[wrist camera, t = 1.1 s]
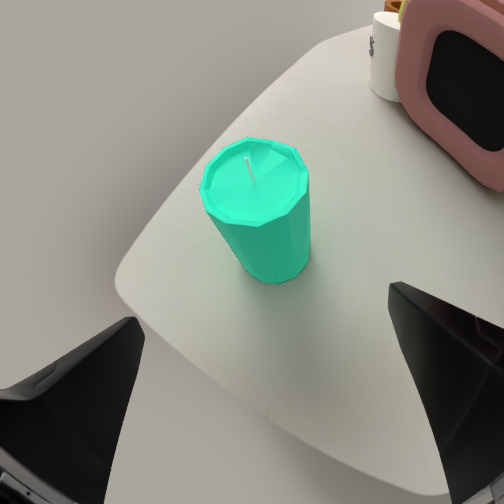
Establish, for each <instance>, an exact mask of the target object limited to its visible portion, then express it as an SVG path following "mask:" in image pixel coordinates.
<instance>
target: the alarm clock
mask: <svg viewBox="0 0 504 504" xmlns="http://www.w3.org/2000/svg"><path fill="white" fill-rule="evenodd" d="M395 87H396V89H397V92H398V95H399V98H400V102H401V103H402V105H403V107H404V108H405V110H406V111H407V113H408V115H409V116H410V118H411V119H412V120H413V121H414V122H415V123H416V124H417V125H418V126H419V127H420V128H421V129H422V130H423V131H424V132H425V133H426V134H427V135H429V136H430V137H431V138H432V139H433V140H434V141H436V142H437V143H438V144H439V145H440V146H441V147H442V148H443V149H445V150H446V151H447V152H448V153H449V154H450V155H451V156H452V157H453V158H454V159H455V160H456V161H457V162H458V163H459V164H460V165H461V166H462V167H463V168H464V169H465V170H466V171H467V172H468V173H469V174H470V175H472V176H473V177H474V178H475V179H477V180H478V181H479V182H480V183H482V184H483V185H484V186H486V187H488V188H491V189H493V190H496V191H498V192H504V0H406V2H405V6H404V9H403V12H402V15H401V24H400V33H399V42H398V50H397V57H396V64H395Z"/></svg>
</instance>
